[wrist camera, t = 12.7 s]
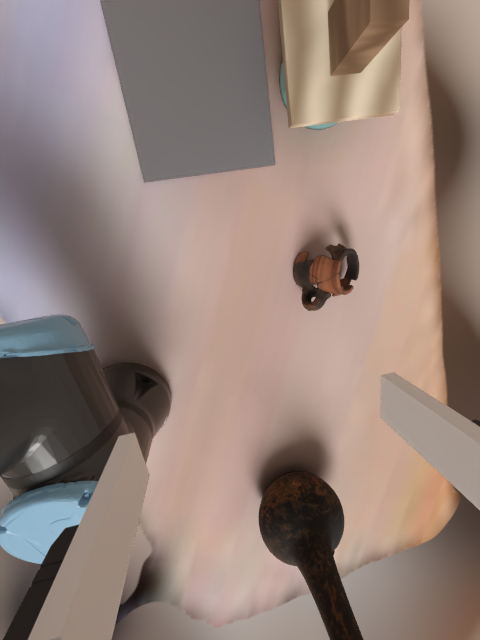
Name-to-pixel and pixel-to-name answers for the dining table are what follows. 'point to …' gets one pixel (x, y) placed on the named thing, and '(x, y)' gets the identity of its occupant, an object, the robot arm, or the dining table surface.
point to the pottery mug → (325, 275)
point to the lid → (341, 58)
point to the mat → (192, 84)
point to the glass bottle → (310, 543)
